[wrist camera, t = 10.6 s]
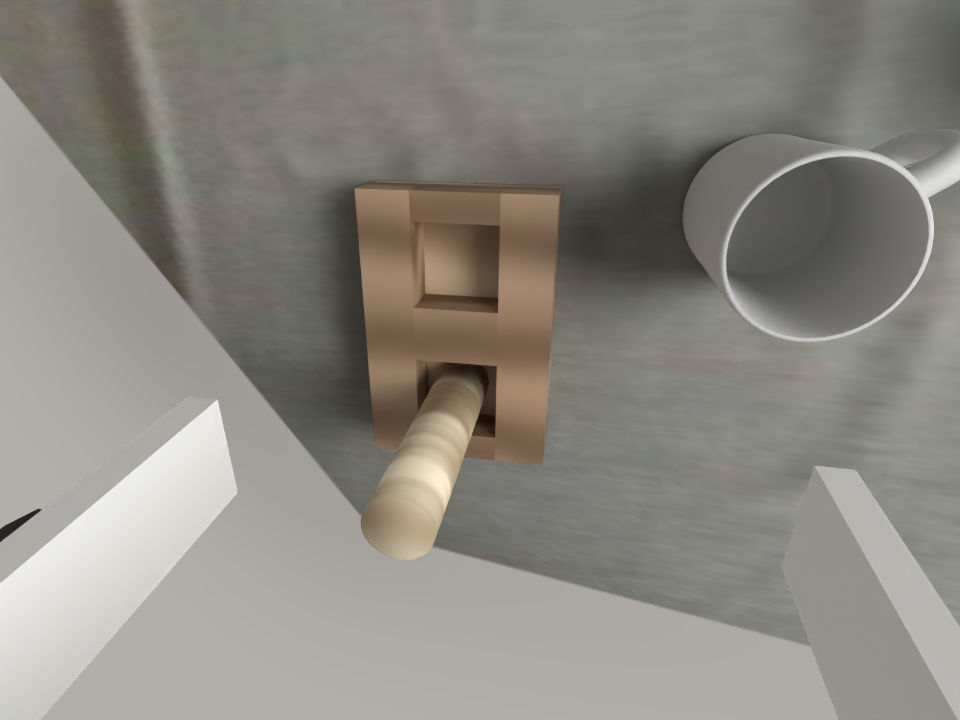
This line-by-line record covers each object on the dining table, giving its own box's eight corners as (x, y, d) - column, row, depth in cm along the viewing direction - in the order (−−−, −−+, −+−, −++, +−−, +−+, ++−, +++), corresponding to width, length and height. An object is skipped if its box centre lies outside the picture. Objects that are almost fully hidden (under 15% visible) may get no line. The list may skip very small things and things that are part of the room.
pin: (439, 355, 41) (357, 494, 26) (489, 359, 40) (434, 503, 26) (440, 399, 42) (363, 554, 28) (488, 404, 42) (435, 564, 27)
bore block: (376, 180, 38) (354, 188, 34) (562, 185, 36) (559, 195, 32) (392, 419, 45) (375, 447, 41) (546, 434, 43) (542, 465, 40)
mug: (720, 302, 37) (767, 376, 27) (655, 188, 35) (682, 223, 25) (923, 197, 33) (1067, 239, 23) (864, 59, 31) (995, 40, 21)
